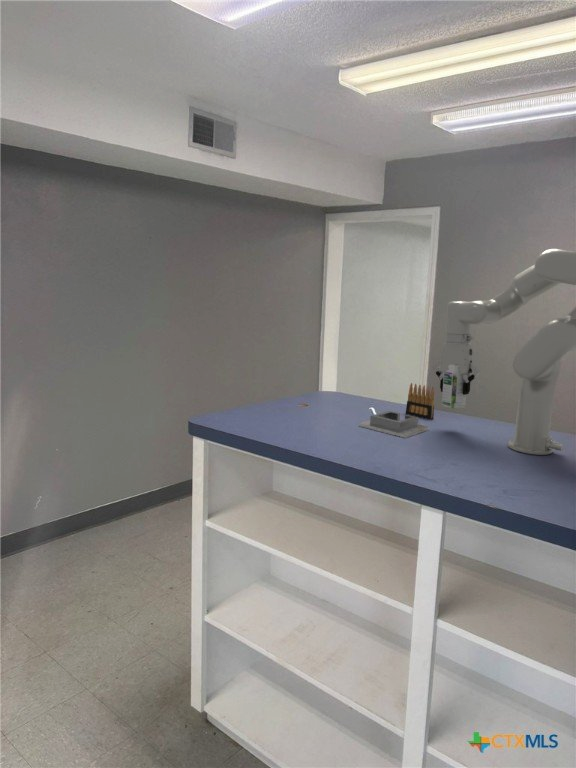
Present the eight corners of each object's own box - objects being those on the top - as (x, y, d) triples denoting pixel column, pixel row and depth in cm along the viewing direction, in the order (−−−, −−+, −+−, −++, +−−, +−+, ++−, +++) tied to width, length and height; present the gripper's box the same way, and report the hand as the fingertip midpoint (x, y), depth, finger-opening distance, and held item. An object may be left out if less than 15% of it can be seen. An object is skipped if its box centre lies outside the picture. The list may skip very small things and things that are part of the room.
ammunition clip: (433, 419, 194) (436, 386, 192) (430, 419, 193) (433, 387, 191) (408, 413, 202) (410, 382, 199) (405, 414, 200) (408, 382, 198)
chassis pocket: (428, 429, 179) (429, 418, 178) (405, 438, 168) (406, 425, 167) (383, 419, 191) (384, 408, 190) (358, 426, 180) (359, 414, 179)
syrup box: (441, 405, 179) (443, 363, 177) (454, 404, 181) (456, 362, 179) (452, 409, 174) (455, 364, 172) (466, 407, 176) (469, 364, 174)
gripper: (488, 340, 171) (484, 394, 174) (438, 337, 183) (436, 388, 185) (478, 341, 165) (474, 397, 168) (427, 338, 177) (425, 391, 180)
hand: (454, 392), depth 177 cm, fingers closed on syrup box, 7 cm apart
